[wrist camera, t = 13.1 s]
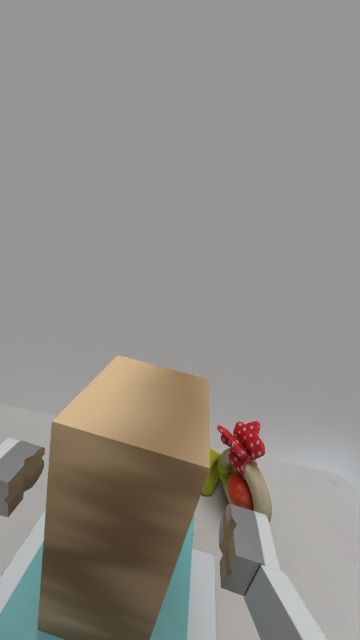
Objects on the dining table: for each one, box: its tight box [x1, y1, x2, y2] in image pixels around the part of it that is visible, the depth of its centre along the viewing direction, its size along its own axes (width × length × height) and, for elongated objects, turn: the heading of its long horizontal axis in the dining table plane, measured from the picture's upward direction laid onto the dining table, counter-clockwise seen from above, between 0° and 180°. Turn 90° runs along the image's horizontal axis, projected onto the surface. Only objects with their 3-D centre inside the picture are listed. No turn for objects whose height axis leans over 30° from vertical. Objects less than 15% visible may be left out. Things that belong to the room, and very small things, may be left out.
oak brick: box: [37, 355, 210, 640], centre depth 10 cm, size 5×5×12 cm
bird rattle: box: [201, 421, 272, 522], centre depth 24 cm, size 6×11×9 cm
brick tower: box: [0, 510, 216, 640], centre depth 13 cm, size 16×12×8 cm
